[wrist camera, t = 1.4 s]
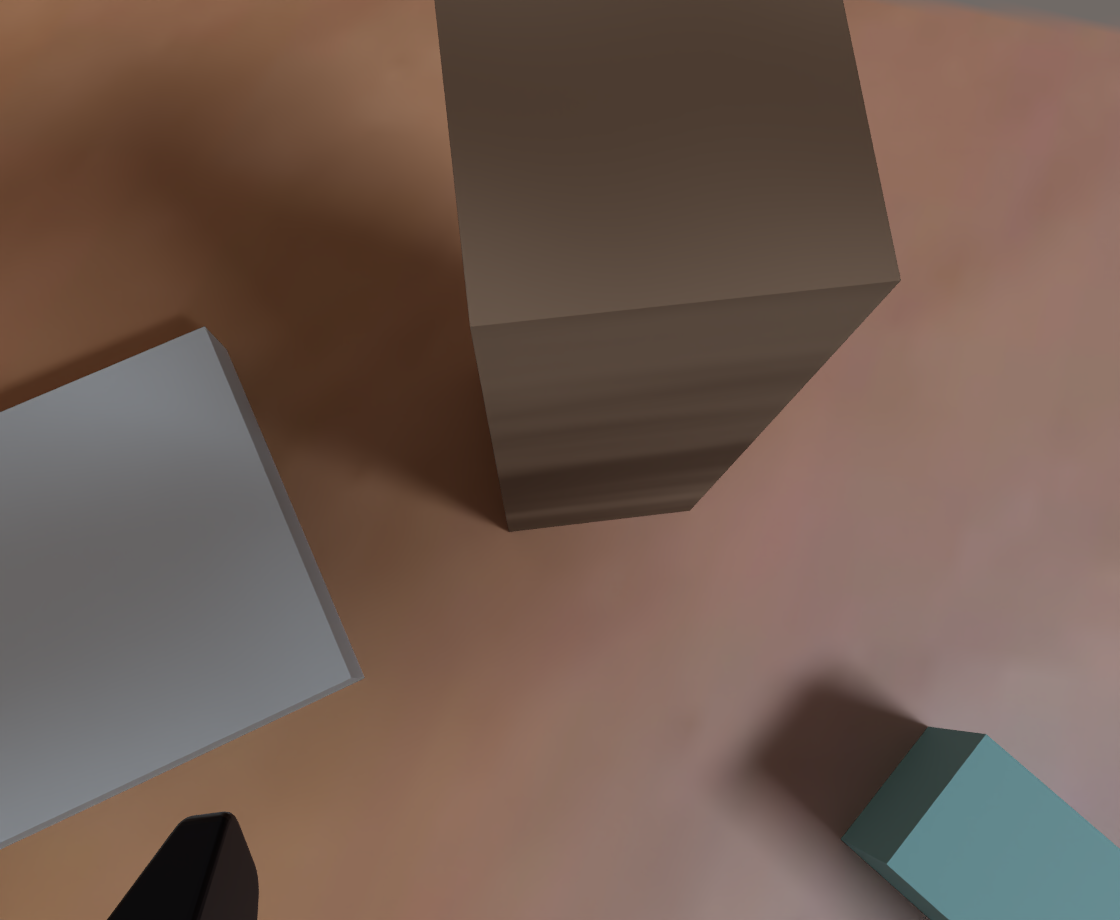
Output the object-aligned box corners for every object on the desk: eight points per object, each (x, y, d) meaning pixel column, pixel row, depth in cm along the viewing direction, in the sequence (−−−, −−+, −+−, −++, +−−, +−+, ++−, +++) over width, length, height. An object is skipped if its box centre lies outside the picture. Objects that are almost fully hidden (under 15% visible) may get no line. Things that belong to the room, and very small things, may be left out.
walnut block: (689, 510, 22) (901, 279, 9) (509, 532, 22) (469, 327, 9) (663, 338, 23) (824, -90, 10) (489, 357, 23) (428, -55, 10)
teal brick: (1156, 926, 20) (1259, 968, 18) (1072, 1047, 20) (1163, 1111, 17) (924, 726, 21) (985, 734, 18) (837, 837, 21) (886, 864, 18)
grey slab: (368, 678, 21) (351, 677, 20) (10, 846, 21) (-46, 864, 19) (232, 356, 23) (204, 326, 21) (-107, 501, 22) (-170, 483, 20)
